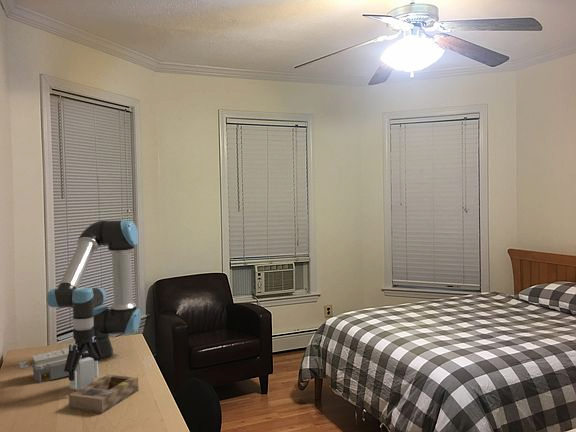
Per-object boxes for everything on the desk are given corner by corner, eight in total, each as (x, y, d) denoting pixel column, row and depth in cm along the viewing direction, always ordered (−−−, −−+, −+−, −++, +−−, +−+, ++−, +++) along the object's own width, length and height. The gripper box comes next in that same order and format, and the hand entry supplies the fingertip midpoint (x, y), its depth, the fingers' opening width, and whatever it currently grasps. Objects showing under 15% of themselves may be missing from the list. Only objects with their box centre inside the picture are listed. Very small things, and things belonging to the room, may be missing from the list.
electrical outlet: (96, 371, 219) (94, 348, 218) (23, 390, 203) (20, 365, 202) (90, 363, 228) (88, 342, 228) (19, 381, 213) (17, 358, 212)
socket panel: (107, 386, 202) (107, 373, 202) (138, 390, 198) (138, 377, 198) (68, 408, 181) (67, 394, 181) (102, 413, 177) (101, 398, 177)
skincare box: (89, 385, 203) (88, 356, 203) (95, 388, 200) (94, 358, 200) (74, 390, 199) (73, 359, 198) (80, 393, 196) (79, 362, 195)
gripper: (95, 320, 211) (96, 371, 212) (52, 335, 188) (54, 392, 189) (111, 321, 209) (112, 372, 210) (69, 336, 186) (70, 394, 187)
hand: (84, 382), depth 199 cm, fingers open, 12 cm apart
